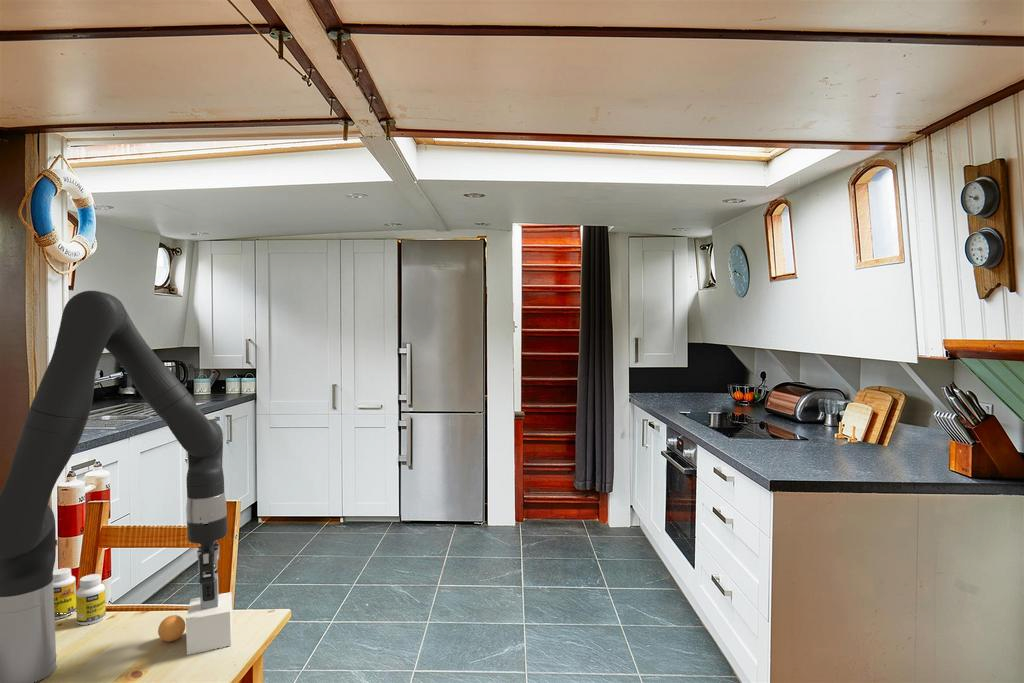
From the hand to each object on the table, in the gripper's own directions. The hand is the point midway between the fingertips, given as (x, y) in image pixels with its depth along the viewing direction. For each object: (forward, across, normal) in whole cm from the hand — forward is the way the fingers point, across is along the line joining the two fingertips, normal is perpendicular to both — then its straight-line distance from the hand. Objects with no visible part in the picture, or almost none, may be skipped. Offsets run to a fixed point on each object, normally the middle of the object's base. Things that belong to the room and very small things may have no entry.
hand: (210, 591), depth 126 cm
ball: (+8, -3, -8) cm, 11 cm away
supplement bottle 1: (+10, -27, -33) cm, 44 cm away
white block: (+10, 0, 0) cm, 10 cm away
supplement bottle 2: (+10, -21, -26) cm, 35 cm away
